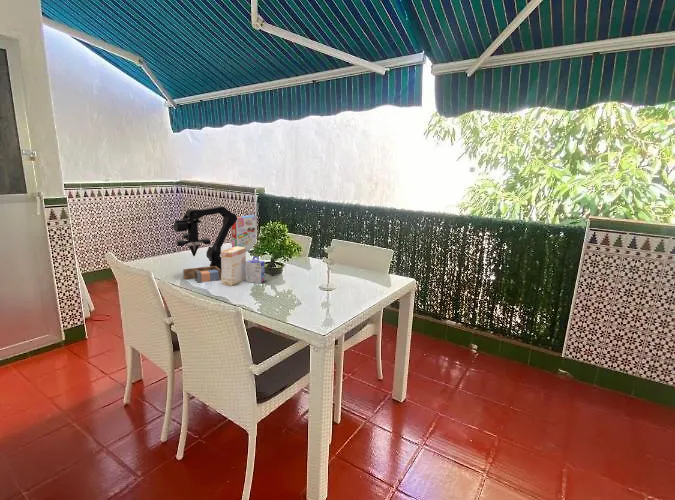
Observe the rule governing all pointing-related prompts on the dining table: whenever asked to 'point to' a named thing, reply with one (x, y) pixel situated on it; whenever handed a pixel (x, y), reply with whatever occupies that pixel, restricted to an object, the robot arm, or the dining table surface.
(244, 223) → the game box
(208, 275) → the salmon rectangular block
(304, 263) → the dining table surface
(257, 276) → the ink cartridge box
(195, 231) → the robot arm
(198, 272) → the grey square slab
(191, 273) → the shelf
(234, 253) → the coffeecake box
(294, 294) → the dining table surface
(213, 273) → the blue-grey plain cube block
